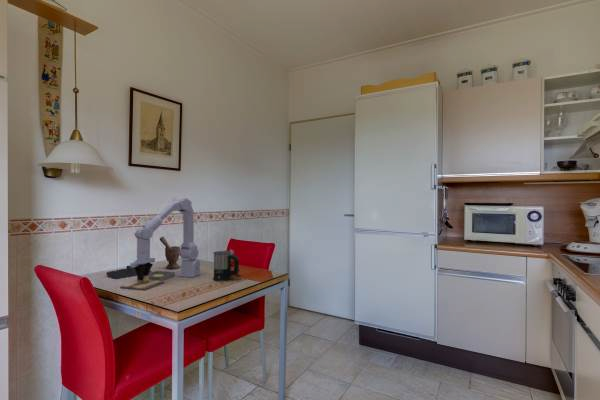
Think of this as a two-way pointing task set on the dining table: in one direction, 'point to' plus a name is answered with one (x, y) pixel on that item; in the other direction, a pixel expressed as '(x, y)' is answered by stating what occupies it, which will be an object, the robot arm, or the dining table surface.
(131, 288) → the mat
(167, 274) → the dish
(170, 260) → the mortar and pestle
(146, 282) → the lid
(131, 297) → the dining table surface
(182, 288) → the dining table surface
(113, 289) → the dining table surface
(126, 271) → the dark slate chunk
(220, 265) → the milk frother
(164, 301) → the dining table surface
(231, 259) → the food container
